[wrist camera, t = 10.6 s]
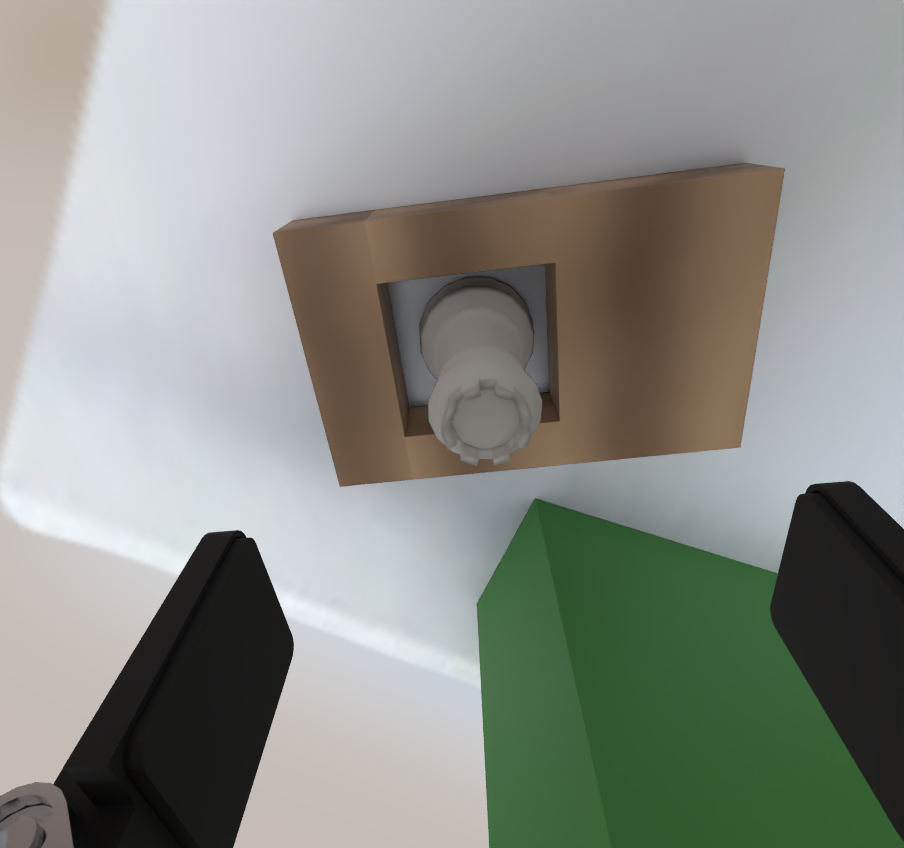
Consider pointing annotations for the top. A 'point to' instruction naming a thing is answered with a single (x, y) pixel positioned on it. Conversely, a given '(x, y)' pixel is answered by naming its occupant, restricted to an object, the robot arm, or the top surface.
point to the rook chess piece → (480, 369)
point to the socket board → (550, 314)
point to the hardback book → (652, 702)
